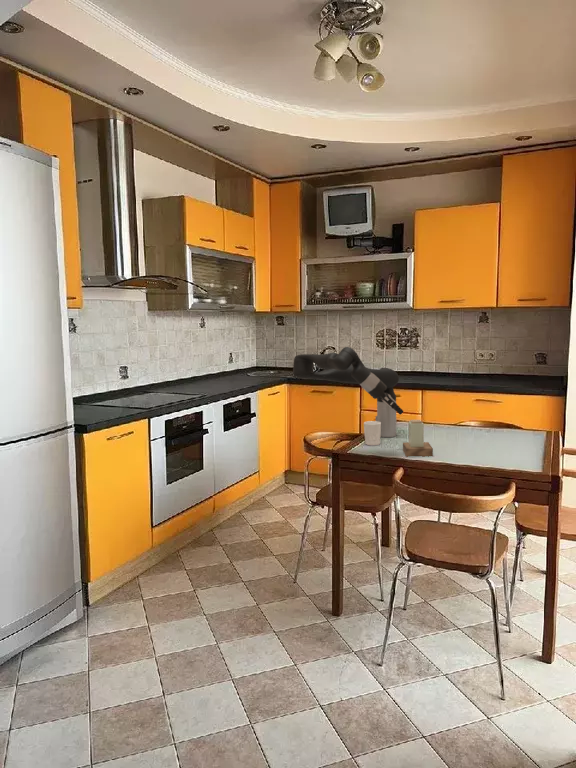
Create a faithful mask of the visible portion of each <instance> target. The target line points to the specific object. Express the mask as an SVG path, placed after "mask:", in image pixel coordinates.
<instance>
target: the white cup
mask: <svg viewBox="0 0 576 768" xmlns="http://www.w3.org/2000/svg"><path fill="white" fill-rule="evenodd" d="M363 431H364V432H363V433H364V444H365V445H366V444H367V446H378V445H380V444H381V437H380V435H381V422H378V421H376V420H368V421H364V422H363Z"/></svg>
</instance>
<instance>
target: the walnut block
mask: <svg viewBox="0 0 576 768" xmlns="http://www.w3.org/2000/svg"><path fill="white" fill-rule="evenodd" d="M433 450H434V447H432V445H431V444H430V442H428V441H424V447H410V445H409V441H408V442H407V441H406V442H402V451H403V454H404V456H405V457H406V456H407V457H406V458H409V457H408V456H422V458H423V457H425V456H428V458H429V456H434V451H433Z"/></svg>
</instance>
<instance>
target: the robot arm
mask: <svg viewBox="0 0 576 768" xmlns="http://www.w3.org/2000/svg"><path fill="white" fill-rule="evenodd" d="M314 364H315V365H316V366H317V368H319V369H321V371H317V372H313V371H314ZM292 376H293V377H294V378H296V379H302V380H317V381H318V380H319V381H329V382H335V383H336V382H338V383H345V384H346V383H347V384H358V385H360V386H361V388H362V389H363V390H364V391H365V392H367V393H368V395H370V396H371V398H373V399H374V400H375V399H376V401H377V402H376V416H375V421H378V422H381V435H380V438H382V437H383V438H392V437H393V438H394V437H396V436H397V414H398V415H402V414H403V413H404V410H403V409H402V408H401V407H400V405H398V403H397V395H396V393H395V391H394V387H395V386H396V385H397V384H398V383H399V380H400V379H399V378H400V377H399V375H398V372H397V371H395V370H393V369H392V368H388V367H381V368H379V369H378V368H377V369H376V368H375V369H374V368H369V367H366V366H365V365H364V363H363V361H362V359H361V358H360V356H359V355H358V353H357V352H356V351H355V349H354V348H352V347H349V346H345V347H343V348H342V349H341V350H340V352H337V353H336V352H330V353H323V354H322V353H321V354H319V353H318V354H317V353H313V354H309V353H308V354H307V353H306V354H304V353H303V354H296V355H295V356H294V357H293V367H292Z"/></svg>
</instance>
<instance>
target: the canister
mask: <svg viewBox="0 0 576 768" xmlns="http://www.w3.org/2000/svg"><path fill="white" fill-rule="evenodd" d="M424 426H425V425H424V423H423V421H422V420H421V419H409V421H408V442H409V445H410V447H424V442H425V441H424V440H425V439H424V436H425V435H424V432H425V430H424V429H425V427H424Z"/></svg>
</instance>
